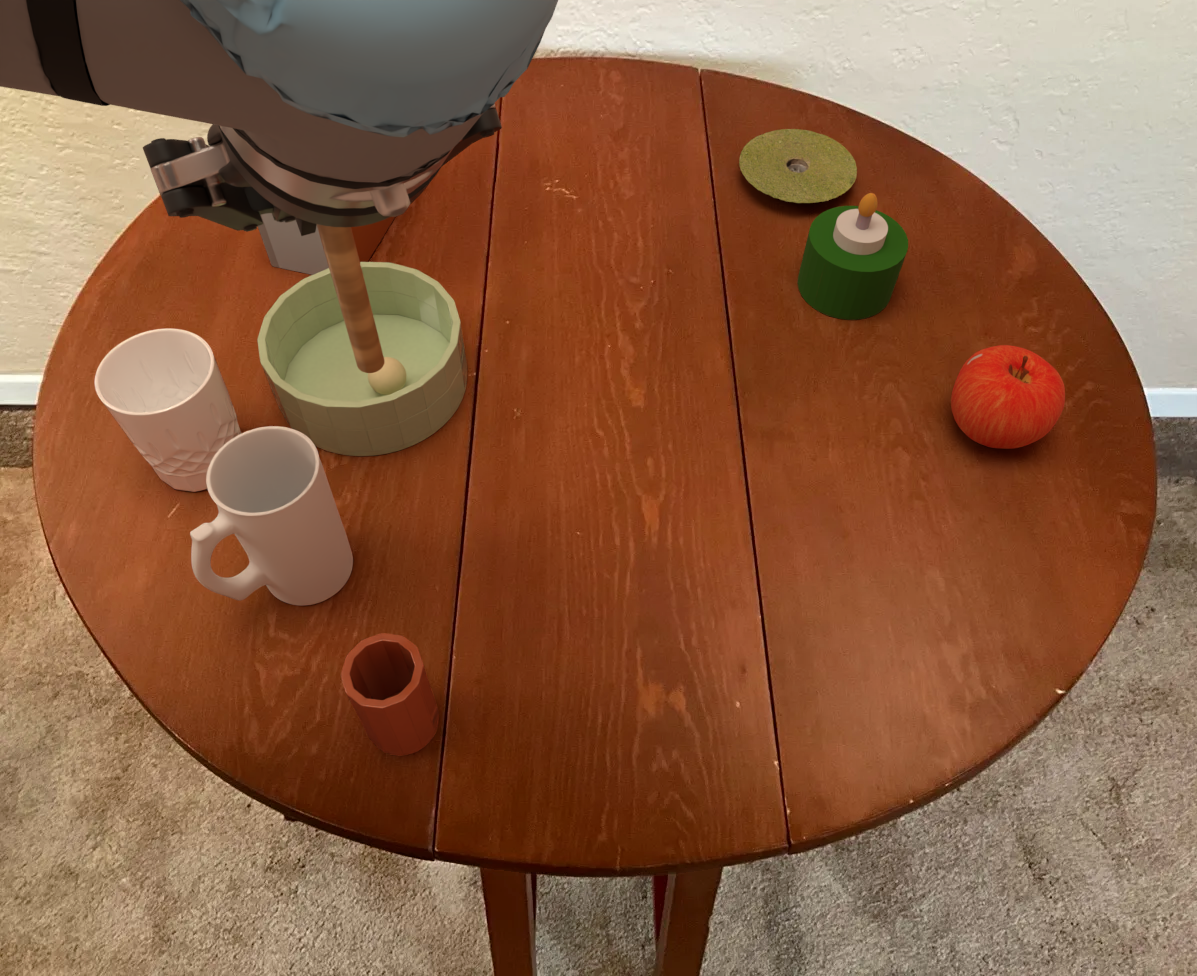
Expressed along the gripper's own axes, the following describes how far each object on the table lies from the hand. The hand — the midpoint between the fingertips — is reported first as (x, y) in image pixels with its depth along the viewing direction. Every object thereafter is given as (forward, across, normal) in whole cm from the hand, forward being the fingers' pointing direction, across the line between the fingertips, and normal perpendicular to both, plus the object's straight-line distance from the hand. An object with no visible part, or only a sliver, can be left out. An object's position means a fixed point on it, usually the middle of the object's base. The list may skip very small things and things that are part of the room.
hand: (320, 203), depth 51 cm
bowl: (+26, +1, -11) cm, 28 cm away
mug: (+15, -10, -22) cm, 28 cm away
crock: (+6, -5, -31) cm, 32 cm away
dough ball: (+23, +2, -11) cm, 26 cm away
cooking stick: (+3, 0, -9) cm, 9 cm away
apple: (+9, +45, -28) cm, 54 cm away
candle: (+22, +43, -15) cm, 50 cm away
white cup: (+25, -13, -12) cm, 31 cm away
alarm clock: (+40, +5, +3) cm, 41 cm away
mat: (+32, +46, -5) cm, 56 cm away
